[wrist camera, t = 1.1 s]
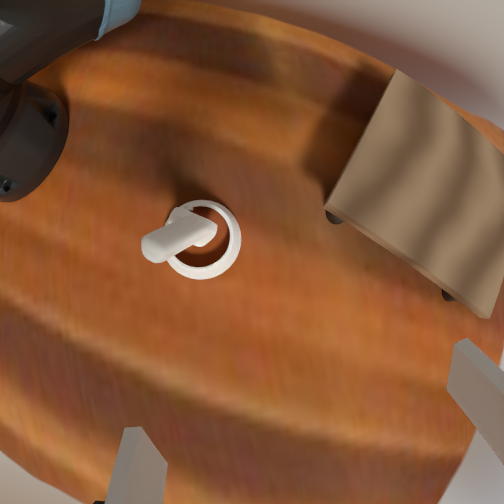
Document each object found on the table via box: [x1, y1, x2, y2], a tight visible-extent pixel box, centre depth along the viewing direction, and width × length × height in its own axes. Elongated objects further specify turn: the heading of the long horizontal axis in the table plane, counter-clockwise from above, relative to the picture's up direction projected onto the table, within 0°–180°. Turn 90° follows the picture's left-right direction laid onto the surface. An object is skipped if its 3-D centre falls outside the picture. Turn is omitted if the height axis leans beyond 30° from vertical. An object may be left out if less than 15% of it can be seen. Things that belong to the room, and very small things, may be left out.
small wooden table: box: [323, 69, 504, 318], centre depth 29 cm, size 20×18×6 cm
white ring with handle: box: [141, 200, 241, 279], centre depth 27 cm, size 8×12×7 cm
